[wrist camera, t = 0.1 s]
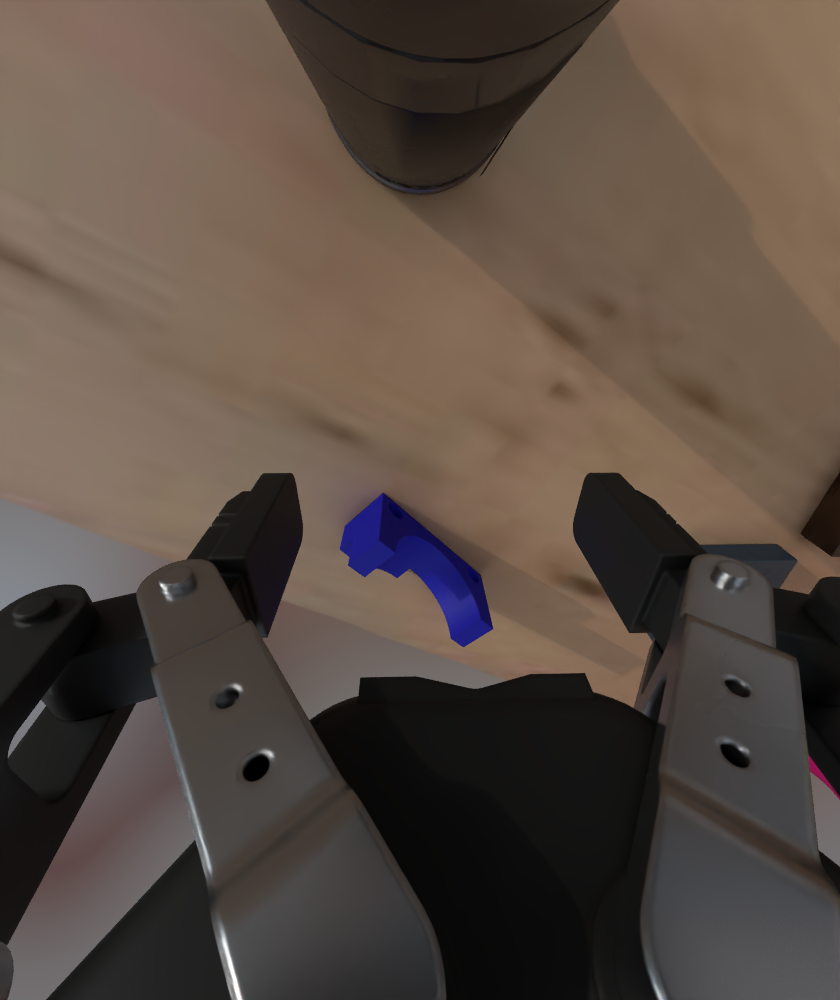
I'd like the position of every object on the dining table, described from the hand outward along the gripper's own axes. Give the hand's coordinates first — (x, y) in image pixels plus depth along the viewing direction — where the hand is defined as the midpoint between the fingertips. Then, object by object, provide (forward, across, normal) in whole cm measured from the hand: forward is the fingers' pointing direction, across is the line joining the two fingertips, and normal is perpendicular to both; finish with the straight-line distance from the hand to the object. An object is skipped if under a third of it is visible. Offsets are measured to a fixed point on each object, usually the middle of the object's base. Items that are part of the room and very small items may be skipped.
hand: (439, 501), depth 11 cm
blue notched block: (+17, 0, +16) cm, 24 cm away
